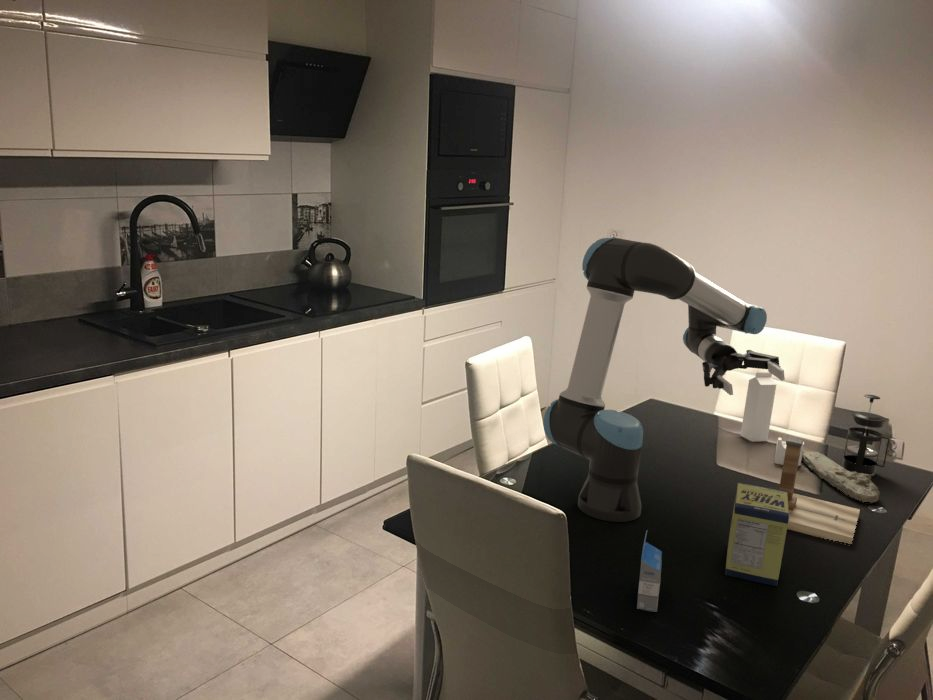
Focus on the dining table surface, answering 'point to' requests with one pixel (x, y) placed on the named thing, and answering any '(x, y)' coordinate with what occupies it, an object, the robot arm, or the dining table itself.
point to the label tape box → (649, 578)
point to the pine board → (823, 519)
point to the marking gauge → (790, 469)
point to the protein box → (757, 533)
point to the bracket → (781, 452)
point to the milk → (758, 407)
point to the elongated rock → (842, 477)
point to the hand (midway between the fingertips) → (757, 382)
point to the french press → (864, 442)
